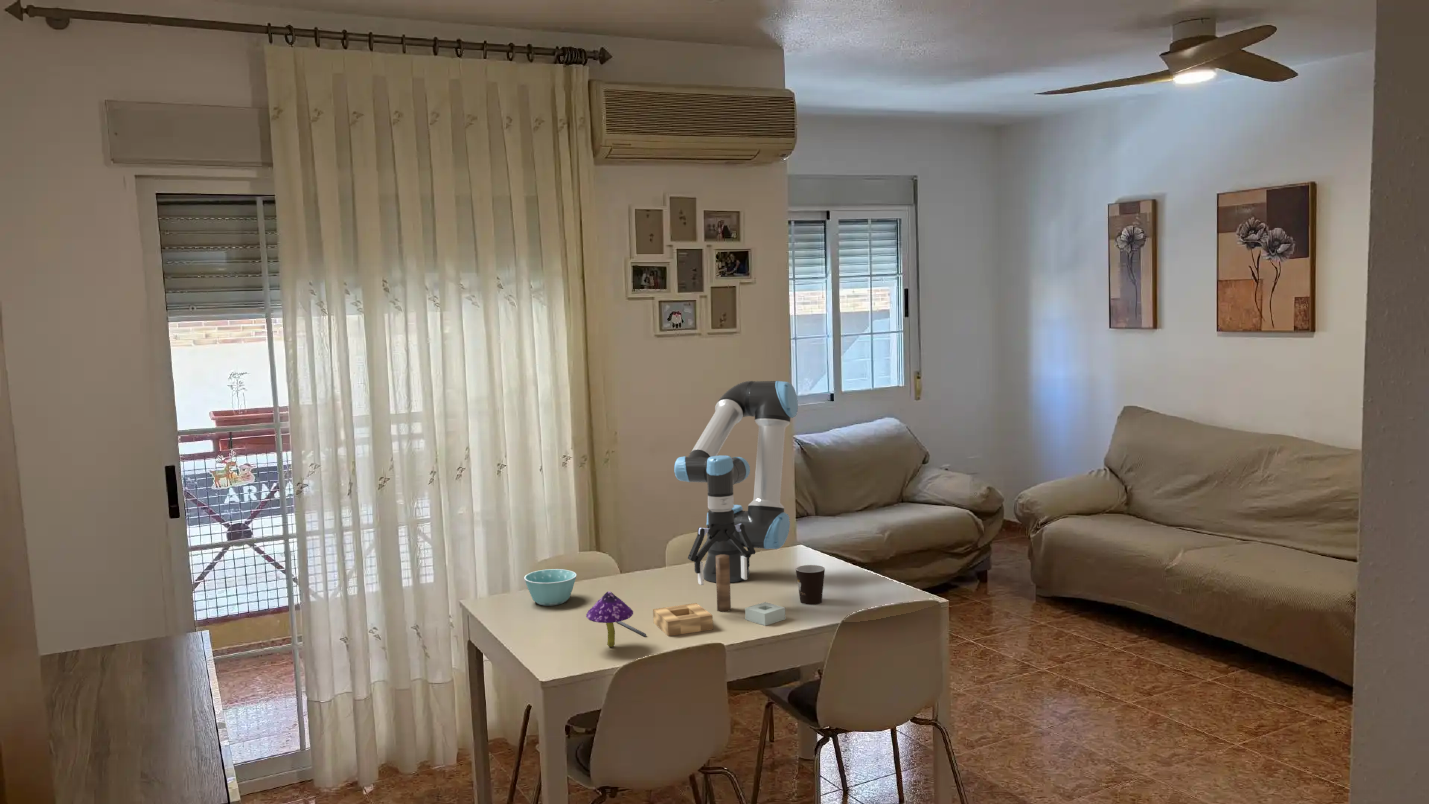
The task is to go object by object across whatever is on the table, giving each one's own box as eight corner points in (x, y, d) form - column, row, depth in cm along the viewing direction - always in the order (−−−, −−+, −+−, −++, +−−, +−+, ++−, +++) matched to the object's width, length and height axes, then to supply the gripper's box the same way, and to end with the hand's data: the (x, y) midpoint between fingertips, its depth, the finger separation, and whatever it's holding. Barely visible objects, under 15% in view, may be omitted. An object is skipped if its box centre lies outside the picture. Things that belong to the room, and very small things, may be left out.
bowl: (587, 597, 330) (586, 571, 330) (559, 611, 316) (557, 584, 315) (544, 592, 337) (543, 567, 336) (515, 606, 323) (514, 579, 322)
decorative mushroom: (579, 652, 279) (576, 596, 278) (600, 637, 291) (598, 583, 289) (622, 656, 275) (619, 600, 273) (642, 641, 287) (640, 586, 285)
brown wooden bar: (715, 608, 314) (713, 555, 312) (727, 607, 315) (726, 553, 314) (720, 612, 310) (718, 558, 308) (732, 610, 312) (731, 556, 310)
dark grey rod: (615, 622, 304) (615, 619, 304) (617, 621, 305) (617, 618, 304) (644, 637, 290) (644, 634, 290) (646, 636, 291) (646, 633, 290)
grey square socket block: (745, 619, 303) (745, 608, 302) (765, 613, 308) (765, 601, 307) (765, 625, 297) (764, 613, 296) (785, 619, 302) (785, 607, 301)
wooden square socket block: (653, 622, 302) (653, 609, 302) (696, 616, 307) (696, 602, 307) (668, 636, 290) (667, 621, 290) (712, 629, 295) (712, 615, 294)
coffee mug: (824, 606, 313) (823, 572, 312) (794, 605, 315) (793, 572, 314) (827, 595, 324) (827, 562, 323) (799, 594, 326) (798, 562, 325)
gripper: (684, 515, 302) (686, 589, 303) (765, 507, 311) (766, 579, 312) (675, 511, 309) (678, 583, 310) (755, 503, 318) (756, 573, 319)
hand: (722, 581), depth 311 cm, fingers open, 13 cm apart
